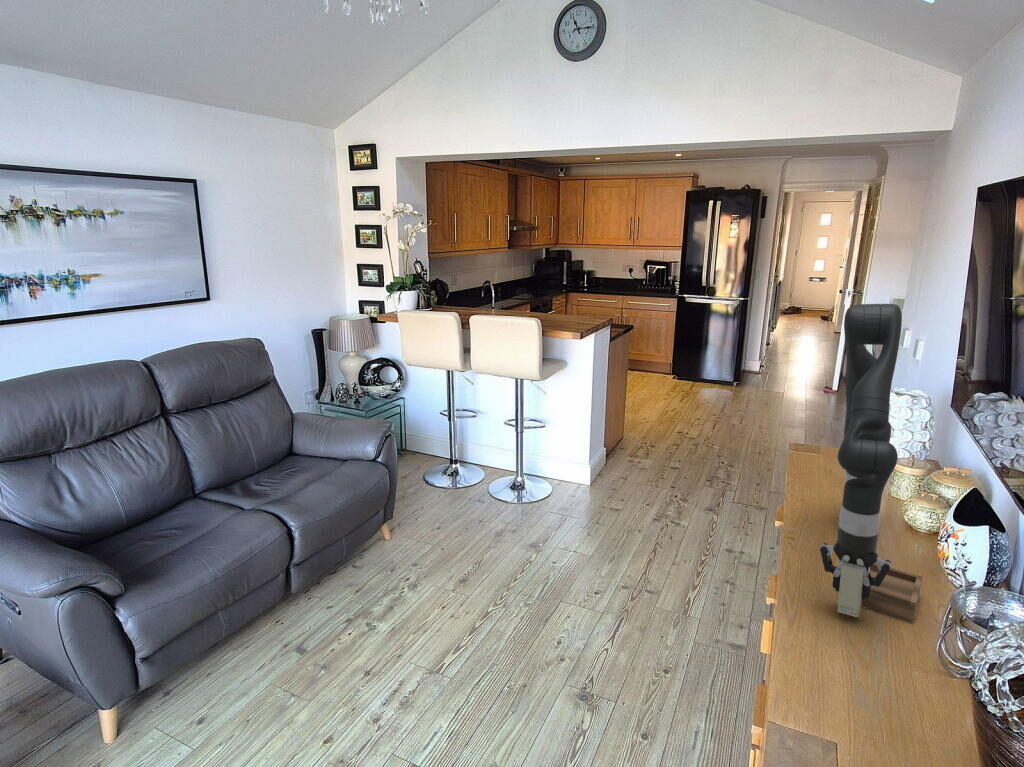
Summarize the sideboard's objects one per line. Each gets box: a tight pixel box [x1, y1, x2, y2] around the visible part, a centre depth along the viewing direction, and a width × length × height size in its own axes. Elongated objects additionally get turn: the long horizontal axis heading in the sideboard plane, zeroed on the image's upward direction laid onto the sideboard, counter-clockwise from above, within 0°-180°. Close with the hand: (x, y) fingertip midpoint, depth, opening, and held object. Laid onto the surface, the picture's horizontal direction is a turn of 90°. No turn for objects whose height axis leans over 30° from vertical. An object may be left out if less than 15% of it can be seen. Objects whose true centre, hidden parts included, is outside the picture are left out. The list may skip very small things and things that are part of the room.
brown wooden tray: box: [861, 563, 923, 624], centre depth 137 cm, size 12×12×6 cm
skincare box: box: [837, 562, 864, 618], centre depth 132 cm, size 6×4×12 cm
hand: (850, 593), depth 132 cm, fingers closed on skincare box, 4 cm apart
